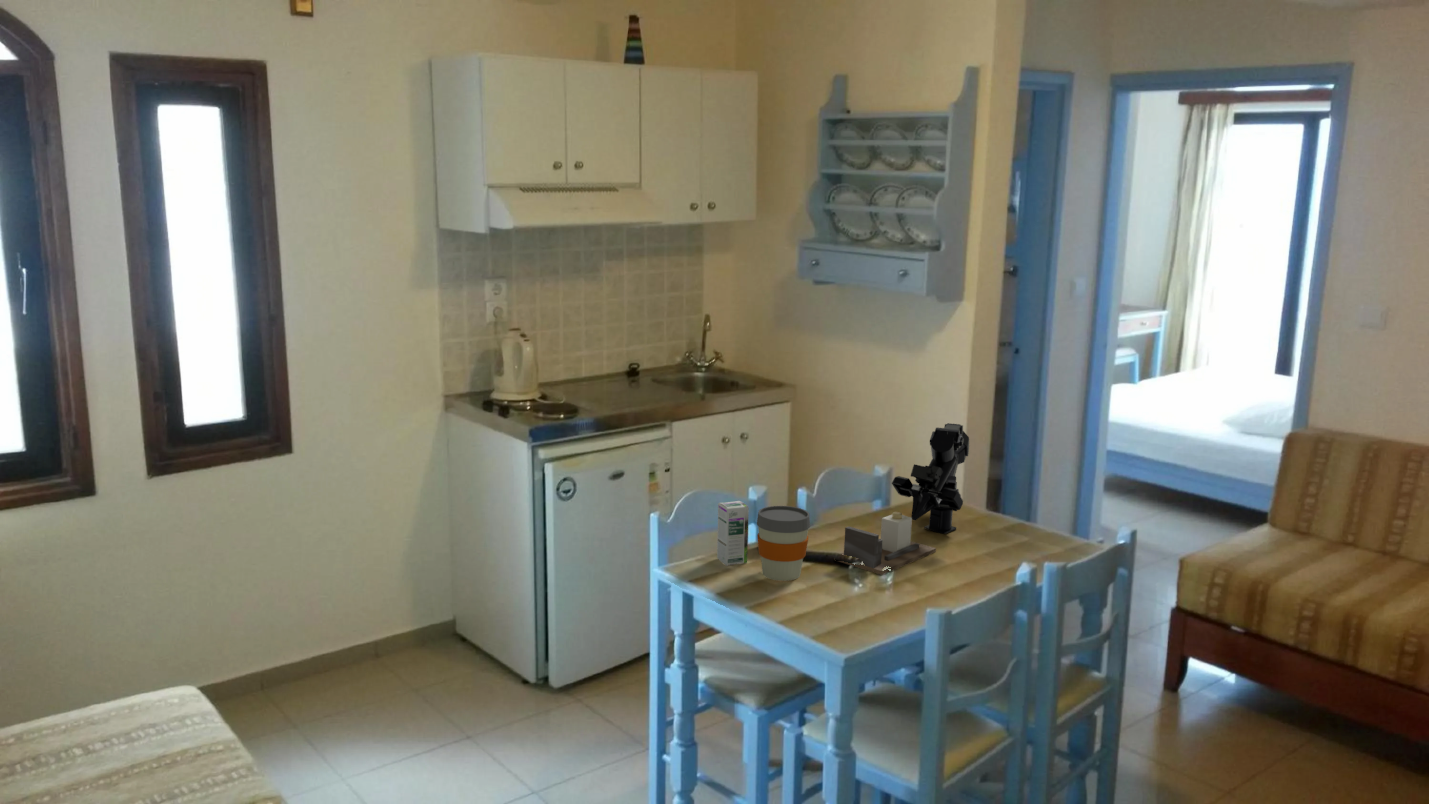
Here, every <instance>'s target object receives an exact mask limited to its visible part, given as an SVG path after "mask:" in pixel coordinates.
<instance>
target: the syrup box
mask: <svg viewBox="0 0 1429 804" xmlns="http://www.w3.org/2000/svg"><path fill="white" fill-rule="evenodd" d="M749 509H750V508H749V505H747V504H746V503H745V502H743V501H741V500H736V501H727V502H718V503H717V545H716V546H717V547H716V548H717V549H716V551H717V552H716V553H717V554H716V558H717V559H718V560H719V562H721V563H722V564H723V565H724V566H727V567H728V566H731V565H742V564H747V563H748V545H749V544H748V543H749V540H748V539H749Z"/></svg>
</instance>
